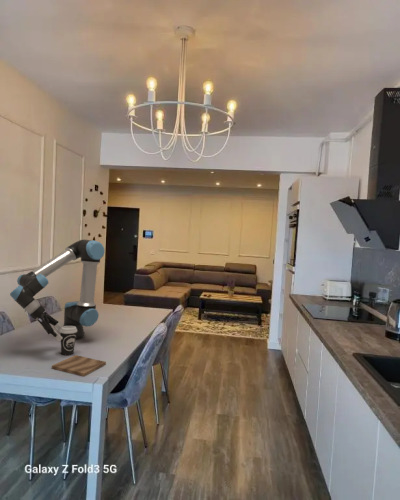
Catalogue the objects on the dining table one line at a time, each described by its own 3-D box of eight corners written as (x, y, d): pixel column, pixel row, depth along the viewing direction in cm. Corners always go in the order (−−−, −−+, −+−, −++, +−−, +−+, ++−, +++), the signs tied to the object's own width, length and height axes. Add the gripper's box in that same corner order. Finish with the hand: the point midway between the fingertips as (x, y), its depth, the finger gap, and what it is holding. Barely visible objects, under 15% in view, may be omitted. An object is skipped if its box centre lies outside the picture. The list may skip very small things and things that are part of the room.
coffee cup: (78, 351, 206) (79, 325, 205) (73, 356, 196) (74, 330, 195) (61, 350, 205) (63, 324, 205) (55, 355, 196) (57, 329, 195)
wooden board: (51, 368, 178) (51, 365, 178) (75, 357, 195) (75, 355, 195) (83, 376, 171) (84, 373, 171) (105, 364, 188) (105, 361, 188)
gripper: (34, 309, 206) (60, 334, 210) (24, 320, 182) (53, 348, 186) (44, 300, 207) (69, 325, 211) (36, 310, 183) (65, 338, 187)
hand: (62, 336), depth 199 cm, fingers open, 13 cm apart
